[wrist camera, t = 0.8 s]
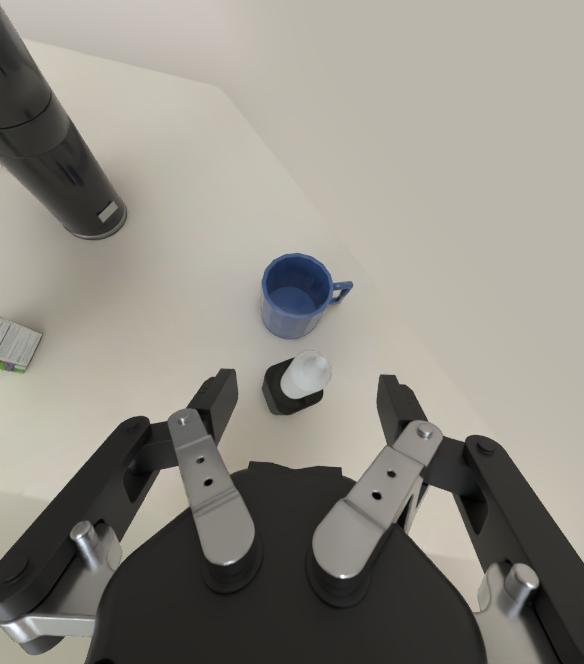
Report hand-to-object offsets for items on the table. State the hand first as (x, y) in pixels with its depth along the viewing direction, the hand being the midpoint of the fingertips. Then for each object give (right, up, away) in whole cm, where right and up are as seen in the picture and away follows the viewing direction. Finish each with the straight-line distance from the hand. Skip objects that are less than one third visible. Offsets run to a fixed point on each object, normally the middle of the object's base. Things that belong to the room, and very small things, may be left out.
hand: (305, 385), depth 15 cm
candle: (-2, -6, +24) cm, 25 cm away
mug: (+1, +6, +28) cm, 29 cm away
